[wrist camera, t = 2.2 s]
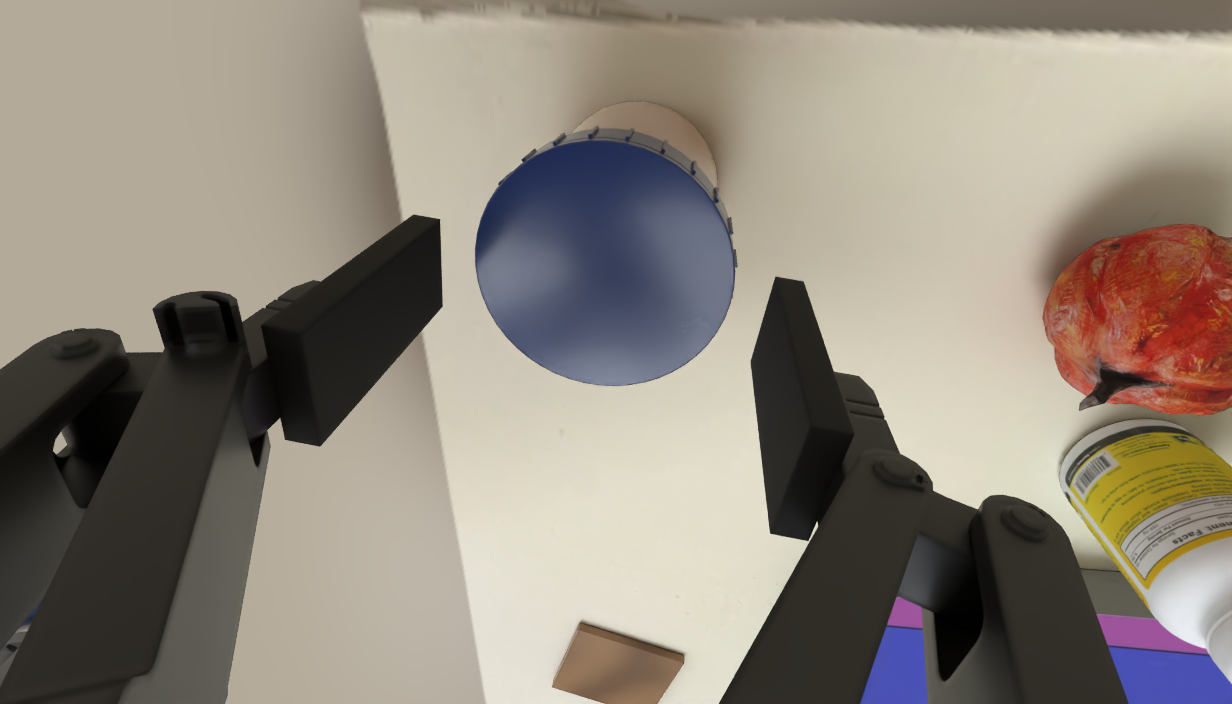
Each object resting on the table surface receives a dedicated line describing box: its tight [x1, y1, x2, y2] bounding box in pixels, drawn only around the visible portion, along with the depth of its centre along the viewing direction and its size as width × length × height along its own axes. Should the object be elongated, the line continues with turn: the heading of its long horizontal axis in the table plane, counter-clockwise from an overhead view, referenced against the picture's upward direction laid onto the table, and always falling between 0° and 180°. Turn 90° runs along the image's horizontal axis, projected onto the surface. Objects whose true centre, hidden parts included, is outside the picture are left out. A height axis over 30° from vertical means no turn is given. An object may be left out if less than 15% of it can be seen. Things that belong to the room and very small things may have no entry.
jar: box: [570, 101, 718, 187], centre depth 22 cm, size 7×7×10 cm
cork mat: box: [552, 623, 684, 704], centre depth 45 cm, size 8×8×1 cm
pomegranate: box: [1043, 224, 1232, 415], centre depth 23 cm, size 7×7×10 cm
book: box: [860, 569, 1232, 704], centre depth 38 cm, size 21×3×30 cm
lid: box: [475, 126, 737, 386], centre depth 19 cm, size 8×8×2 cm
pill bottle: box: [1059, 419, 1232, 684], centre depth 26 cm, size 6×6×11 cm
